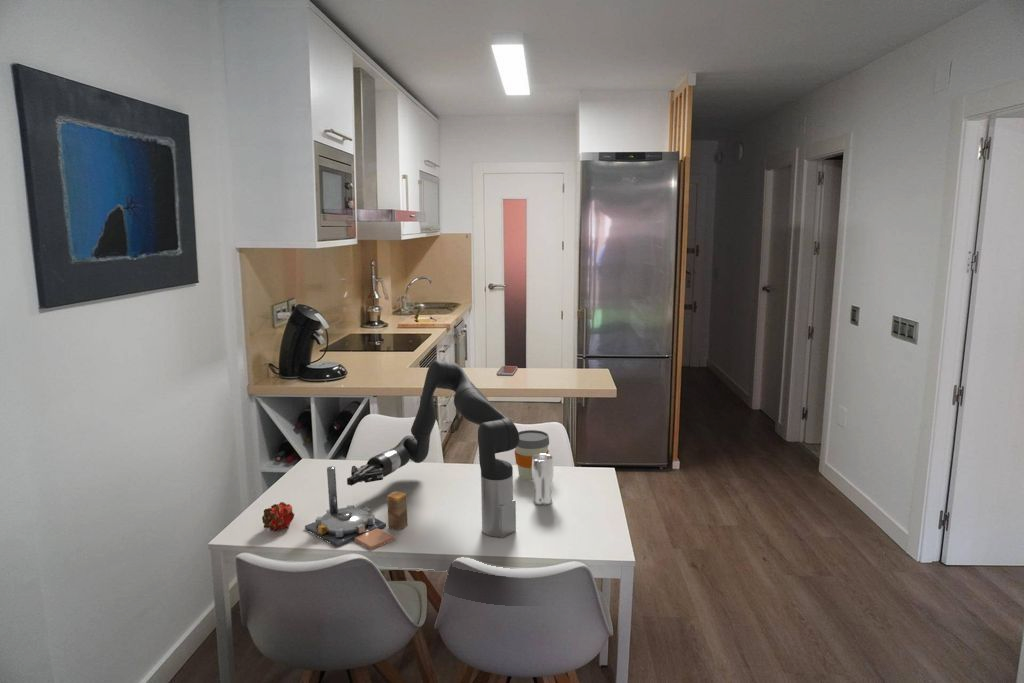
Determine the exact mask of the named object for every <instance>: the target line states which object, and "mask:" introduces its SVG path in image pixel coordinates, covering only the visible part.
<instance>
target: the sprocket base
mask: <svg viewBox="0 0 1024 683" xmlns="http://www.w3.org/2000/svg"><path fill="white" fill-rule="evenodd" d="M386 527H387V523H386V522H384V521H382V520H380V519H378V518H376V517H375V522H374V524H371V525H368V526H367V527H365V532H362V533H360V534H359V533H357V532H354V533H350V534H344V536H343V537H336V535H335V534H329V533H325V534H323V535H322V534H320V533H318V526H316V521H314V522H312V523H308V524H306V525H304V529H305V530H306V531H308V532H309V531H310V532H309V533H311V532H312V533H311V534H313V533H314V534H313V535H314V536H316V537H318V536H319V537H318V538H320V537H321V538H320V539H322V538H323V539H322V540H323V541H325V540H326V542H327V541H328V542H327V543H329V542H330V543H329V544H331V545H332V544H333V545H332V546H334V545H335V547H337V548H339V547H341V546H343V545H345V544H348V543H351V542H354V541H355V537H357V536H360V535H362V534H364V533H367V532H369V531H372V530H374V529H376V528H378V529H380V530H382V529H384V528H386ZM381 528H382V529H381Z"/></svg>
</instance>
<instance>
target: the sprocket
mask: <svg viewBox="0 0 1024 683" xmlns="http://www.w3.org/2000/svg"><path fill="white" fill-rule="evenodd" d="M326 475H327V476H326V477H327V488H328V489H327V490H328V491H327V492H328V506H329V507H328V508H329V509H327V510H326V513H325V514H323V515H322V516H316V517H315V521H314V522H316V526H318V533H320V534H322V535H323V534H325V533H329V534H335V535H336V537H343V536H344V534H350V533H354V532H357V533H359V534H360V533H362V532H365V527H367V526H368V525H371V524H374V522H375V518H376V517H375V515H374V514H372V508H369V507H364V508H360V507H355V505H353V504H351V505H349V504H348V505H346V507H341V508H340V507H339V506H338V495H337V494H338V491H337V477H336V466H327V467H326ZM338 507H339V508H338Z"/></svg>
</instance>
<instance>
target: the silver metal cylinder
mask: <svg viewBox="0 0 1024 683" xmlns="http://www.w3.org/2000/svg"><path fill="white" fill-rule="evenodd" d="M554 470H555V469H554V457H553V456H552V455H550V454H549V453H548V454H537V455H534V456H533V457H532V478H533V481H532V482H533V489H534V496H533V503H534V504H535V505H538V506H548V505H551V504H552V503H553V499H552V498H553V497H552V484H553V479H554Z"/></svg>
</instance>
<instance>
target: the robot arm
mask: <svg viewBox="0 0 1024 683" xmlns="http://www.w3.org/2000/svg"><path fill="white" fill-rule="evenodd" d="M436 389H441V390H442V389H443V390H449V391H453V392H454V393H455V394H454V397H453V405H454V407H455V408H456V410H457V411H458V412H459V414H460V415H461V416H462V418H464V419H465V420H467V422H470V423H473V424H474V425H475V424H476V425H478V429H477V443H478V445H477V446H478V457H479V458H478V459H479V460H478V461H479V466H480V487H481V488H480V494H481V497H480V498H481V503H480V504H481V530H482V532H483V533H484V534H485V535H487V536H488V537H489V536H490V537H495V538H496V537H497V538H502V539H503V538H505V537H506V536H509V535H510V534H512V533H515V532H516V531H517V515H516V513H517V508H516V506H517V505H516V500H515V499H514V489H513V488H514V484H513V483H514V482H513V481H514V480H513V479H514V476H513V473H514V470H513V468H514V467H513V464H512V463H510V461H507V460H503V459H498V458H496V454H499V453H505V452H509V451H512V450H515V448H516V447H517V446H518V444H519V433H518V432H519V431H518V428H517V426H516V425H515V423H514V422H513V421H512V419H510V417H508V416H507V415H506V414H504V413H502V412H501V411H500V410H498V408H496V406H495V405H493V404H492V403H491V402H490V400H488V398H486V395H485V394H483V393H482V392H481V391H480V390H479V388H477V386H475V384H474V383H473V382H472V381H471V380H470V378H469V377H468V376H467V374H466V372H465V371H464V369H463V368H462V367H461V365H459V363H456V362H452V361H443V360H433V361H432V362H431V363H430V364H429V367H428V369H427V372H426V375H425V380H424V384H423V388H422V392H421V396H420V397H421V398H420V401H419V406H418V410H417V413H416V415H415V418H414V420H413V423H412V426H411V428H410V432H411V435H405V436H404V437H403V438H402V439H401V440H400V441H399V442H398V444H397V445H395V446H394V447H392V448H390V449H389V450H386V451H382V452H380V453H378V454H377V455H375V456H372V457H370V458H369V459H368V460H367V462H366V464H364V465H363V464H362V465H361V466H360V467H356V465H352V466H351V470H350V473H351V474H350V475H351V476H349V477H347V478H346V483H347V486H352V487H353V485H355V484H357V483H363V482H364V483H366V484H367V483H371V482H377V481H383V480H384V478H385V477H387V476H389V475H391V474H392V473H394V472H396V471H397V470H399V469H400V468H402V467H404V466H405V465H407V464H408V463H409V461H412V462H413V463H415V464H420V463H422V462H424V461H425V459H426V458H427V457H428V455H429V451H430V441H431V434H432V432H433V429H434V426H435V425H436V424H435V423H436V421H437V411H436V410H437V409H436V406H435V402H434V393H435V391H436Z"/></svg>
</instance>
